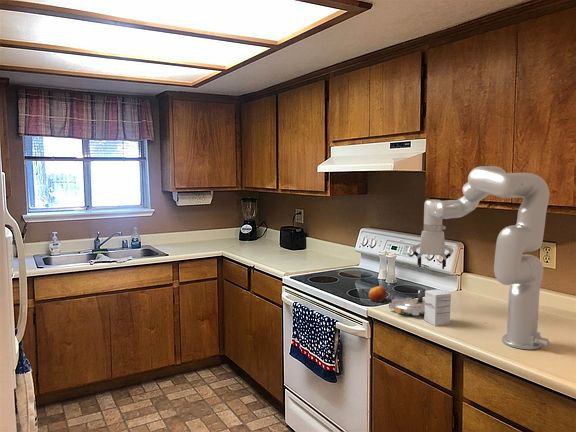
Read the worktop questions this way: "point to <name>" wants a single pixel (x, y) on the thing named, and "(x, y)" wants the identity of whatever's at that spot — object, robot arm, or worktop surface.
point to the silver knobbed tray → (409, 305)
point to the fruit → (377, 294)
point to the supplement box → (437, 307)
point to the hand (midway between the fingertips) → (431, 267)
